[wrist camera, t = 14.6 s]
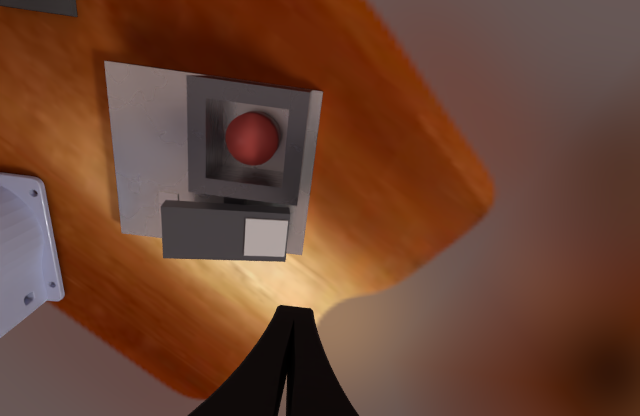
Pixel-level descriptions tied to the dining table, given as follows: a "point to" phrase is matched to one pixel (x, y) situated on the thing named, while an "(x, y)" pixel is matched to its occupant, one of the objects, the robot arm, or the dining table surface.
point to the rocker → (224, 231)
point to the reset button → (253, 137)
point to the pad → (44, 6)
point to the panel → (205, 144)
